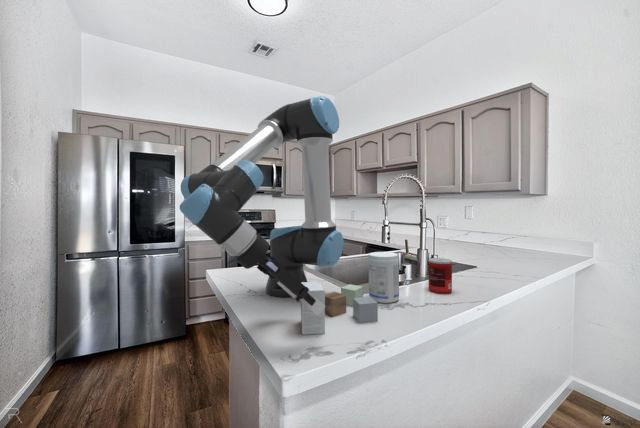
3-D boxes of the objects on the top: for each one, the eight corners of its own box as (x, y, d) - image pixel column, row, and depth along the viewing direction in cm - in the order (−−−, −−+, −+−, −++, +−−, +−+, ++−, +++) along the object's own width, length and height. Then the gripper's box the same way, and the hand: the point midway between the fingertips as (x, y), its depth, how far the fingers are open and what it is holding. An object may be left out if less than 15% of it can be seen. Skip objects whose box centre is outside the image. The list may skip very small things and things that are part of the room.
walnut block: (321, 312, 80) (321, 294, 80) (334, 308, 83) (334, 291, 83) (332, 317, 76) (332, 299, 76) (346, 313, 79) (346, 295, 79)
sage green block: (341, 303, 87) (340, 287, 87) (349, 299, 91) (349, 284, 91) (355, 307, 84) (354, 290, 84) (363, 302, 88) (362, 286, 88)
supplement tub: (388, 293, 97) (387, 250, 97) (405, 301, 88) (405, 255, 88) (363, 296, 94) (363, 252, 93) (378, 305, 85) (378, 257, 84)
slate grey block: (353, 316, 77) (353, 298, 77) (370, 314, 78) (370, 296, 78) (359, 323, 72) (359, 304, 72) (377, 321, 73) (377, 302, 73)
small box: (300, 321, 74) (300, 281, 73) (322, 320, 74) (321, 281, 74) (301, 335, 66) (300, 290, 65) (325, 334, 66) (324, 289, 66)
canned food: (447, 287, 103) (447, 257, 102) (455, 294, 95) (455, 262, 94) (425, 287, 103) (425, 257, 103) (432, 294, 95) (432, 261, 95)
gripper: (224, 250, 71) (280, 299, 79) (246, 268, 49) (322, 334, 57) (244, 228, 74) (298, 278, 81) (275, 237, 52) (344, 304, 59)
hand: (308, 301), depth 69 cm, fingers open, 13 cm apart
